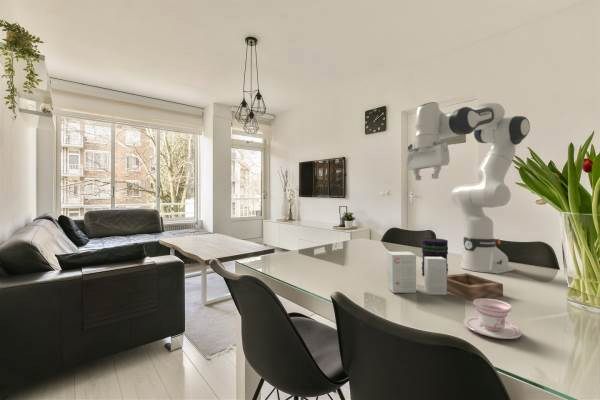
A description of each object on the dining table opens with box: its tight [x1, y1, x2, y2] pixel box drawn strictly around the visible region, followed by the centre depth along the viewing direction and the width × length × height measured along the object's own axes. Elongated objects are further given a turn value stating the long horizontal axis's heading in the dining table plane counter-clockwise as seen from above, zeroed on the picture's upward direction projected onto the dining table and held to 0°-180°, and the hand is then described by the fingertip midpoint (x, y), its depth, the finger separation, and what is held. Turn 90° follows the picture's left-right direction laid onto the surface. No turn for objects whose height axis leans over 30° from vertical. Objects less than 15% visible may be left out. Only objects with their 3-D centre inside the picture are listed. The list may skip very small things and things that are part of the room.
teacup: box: [463, 298, 523, 340], centre depth 71 cm, size 12×12×6 cm
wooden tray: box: [447, 272, 504, 301], centre depth 99 cm, size 14×14×4 cm
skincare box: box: [423, 257, 448, 296], centre depth 98 cm, size 6×4×12 cm
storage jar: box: [421, 237, 449, 277], centre depth 120 cm, size 10×10×15 cm
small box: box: [387, 251, 417, 294], centre depth 101 cm, size 8×6×13 cm
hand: (426, 179), depth 114 cm, fingers open, 8 cm apart
